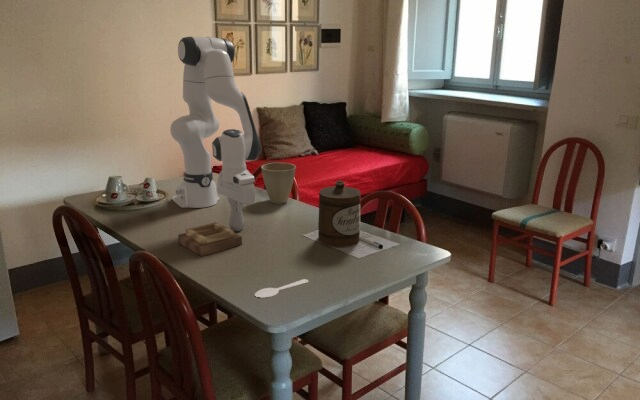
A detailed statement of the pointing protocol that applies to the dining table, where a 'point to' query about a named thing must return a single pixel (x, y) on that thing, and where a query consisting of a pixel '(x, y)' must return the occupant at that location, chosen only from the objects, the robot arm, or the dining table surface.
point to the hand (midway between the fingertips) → (236, 210)
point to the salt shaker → (235, 217)
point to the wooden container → (339, 215)
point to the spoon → (277, 289)
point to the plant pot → (278, 180)
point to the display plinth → (209, 238)
